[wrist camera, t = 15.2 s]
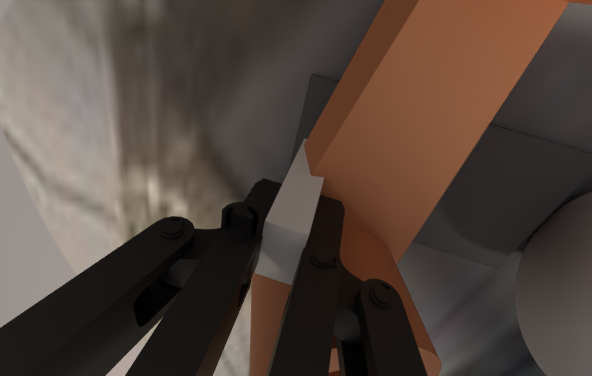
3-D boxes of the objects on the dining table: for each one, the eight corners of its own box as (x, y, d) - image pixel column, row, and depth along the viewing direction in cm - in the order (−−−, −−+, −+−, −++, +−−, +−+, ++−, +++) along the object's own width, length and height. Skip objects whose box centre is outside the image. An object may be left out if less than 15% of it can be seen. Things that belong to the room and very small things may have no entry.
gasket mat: (601, 155, 13) (605, 159, 13) (495, 264, 18) (496, 268, 18) (312, 74, 14) (311, 75, 14) (283, 198, 19) (282, 200, 18)
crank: (393, 413, 15) (239, 422, 13) (354, 282, 21) (246, 277, 20) (1096, -146, 3) (551, -609, 2) (548, -72, 10) (321, -155, 8)
